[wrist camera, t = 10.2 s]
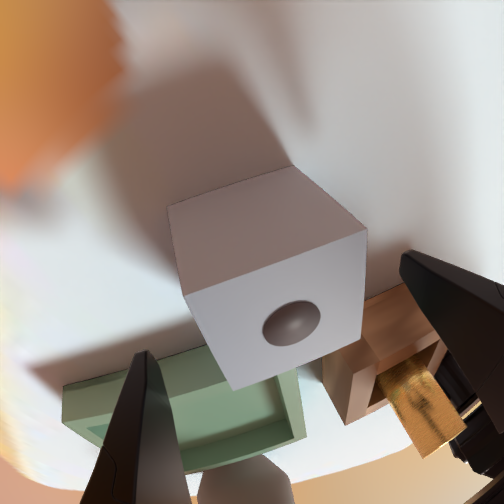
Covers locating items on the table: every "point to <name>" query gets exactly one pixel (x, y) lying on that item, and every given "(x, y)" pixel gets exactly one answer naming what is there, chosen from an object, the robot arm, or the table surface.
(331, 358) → the wooden box
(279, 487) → the cup
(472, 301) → the robot arm
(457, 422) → the cylinder
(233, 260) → the block
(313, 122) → the table surface
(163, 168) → the table surface
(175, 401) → the tray
